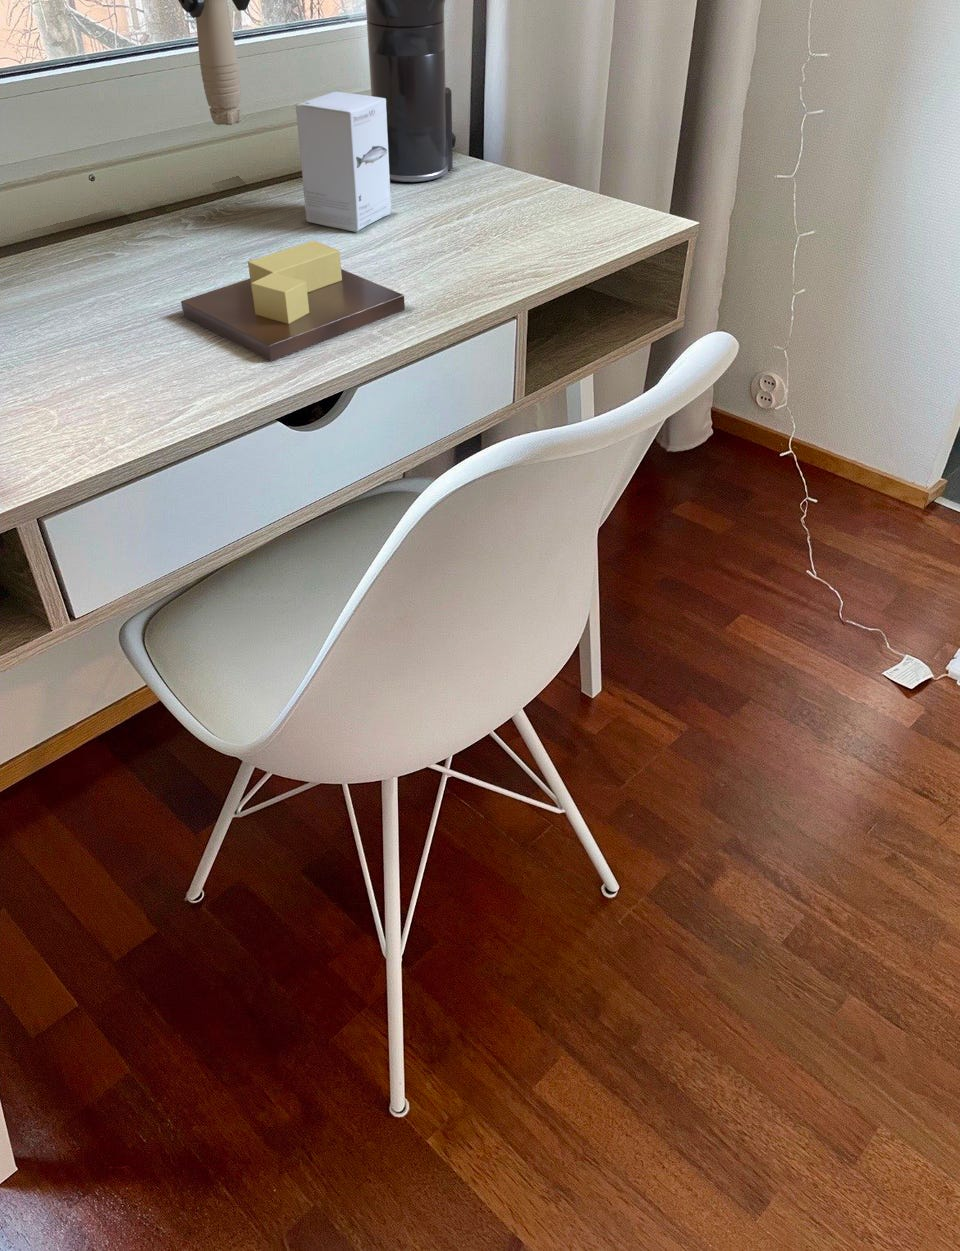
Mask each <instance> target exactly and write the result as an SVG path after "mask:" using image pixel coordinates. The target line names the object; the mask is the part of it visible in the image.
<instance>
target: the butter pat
mask: <svg viewBox="0 0 960 1251" xmlns="http://www.w3.org/2000/svg"><path fill="white" fill-rule="evenodd" d="M251 286H252V293H253V300H254V307H255V314H256V315H259V316H262V317H266V318H269V319H273V320H276V321H280V322H283V323H287V324H290V323H291V322H293V321H295V320H297V319H299V318H301V317H303V316H304V315H306V314H308V313H309V305H308V295H307V286H306V281H302V280H298V279H295V278H291V277H287V276H283V275H279V274H276V273H271V274H269V275H267V276H265V277H263V278H261V279H259V280H257V281H255V282H252V283H251Z"/></svg>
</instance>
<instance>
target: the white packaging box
mask: <svg viewBox="0 0 960 1251" xmlns="http://www.w3.org/2000/svg"><path fill="white" fill-rule="evenodd" d="M295 115H296V124H297V133H298V135H297V136H298V146H299V155H300V166H301V175H302V186H303V196H304V207H305V208H304V209H305V217H306V222H308V223H311V224H316V225H320V226H325V227H330V228H334V229H340V230H344V231H349V232H355V233H358V232H359V231H360V230H362V229H364V228H366V227H367V226H369V225H371V224H373V223H374V222H377V221H378V220H380V219H383V218H385V217H387V216H390V214H392V203H391V202H392V201H391V200H392V199H391V180H390V176H389V154H388V134H387V113H386V99H385V98H380V97H373V96H371V95H365V94H357V93H350V92H341V91H332V92H329V93H326V94H324V95H320V96H317V97H315V98H312V99H308V100H306V101H303V102H301V103H297V104H296V105H295Z"/></svg>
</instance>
